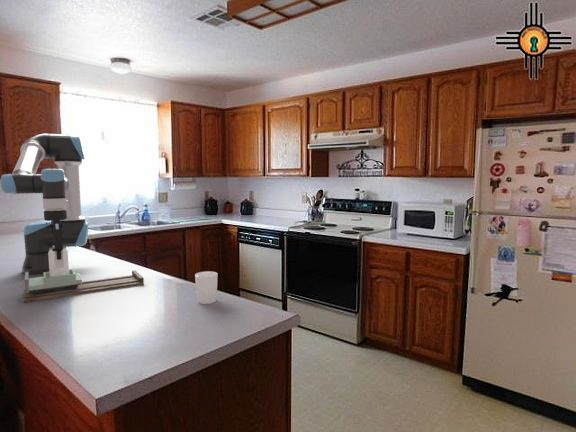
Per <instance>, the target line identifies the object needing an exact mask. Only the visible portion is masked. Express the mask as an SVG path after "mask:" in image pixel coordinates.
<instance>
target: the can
mask: <svg viewBox="0 0 576 432" xmlns="http://www.w3.org/2000/svg"><path fill="white" fill-rule="evenodd" d="M54 248H55V247H52V248H49V249H50V250H49V252H48V256H49V271H50V277H55V276H63V275H69V269H70V268H69V267H70V266H69V264H70V263H69V252H68V251H69V250H68V249H67V247H63V261H64V268H55V255H54V251H52V249H54Z"/></svg>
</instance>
